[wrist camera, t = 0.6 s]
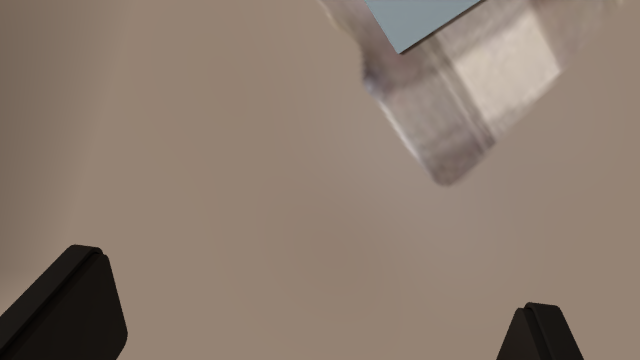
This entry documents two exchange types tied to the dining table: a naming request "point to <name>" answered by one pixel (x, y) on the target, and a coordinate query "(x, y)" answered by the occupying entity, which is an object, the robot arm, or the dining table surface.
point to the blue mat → (414, 18)
